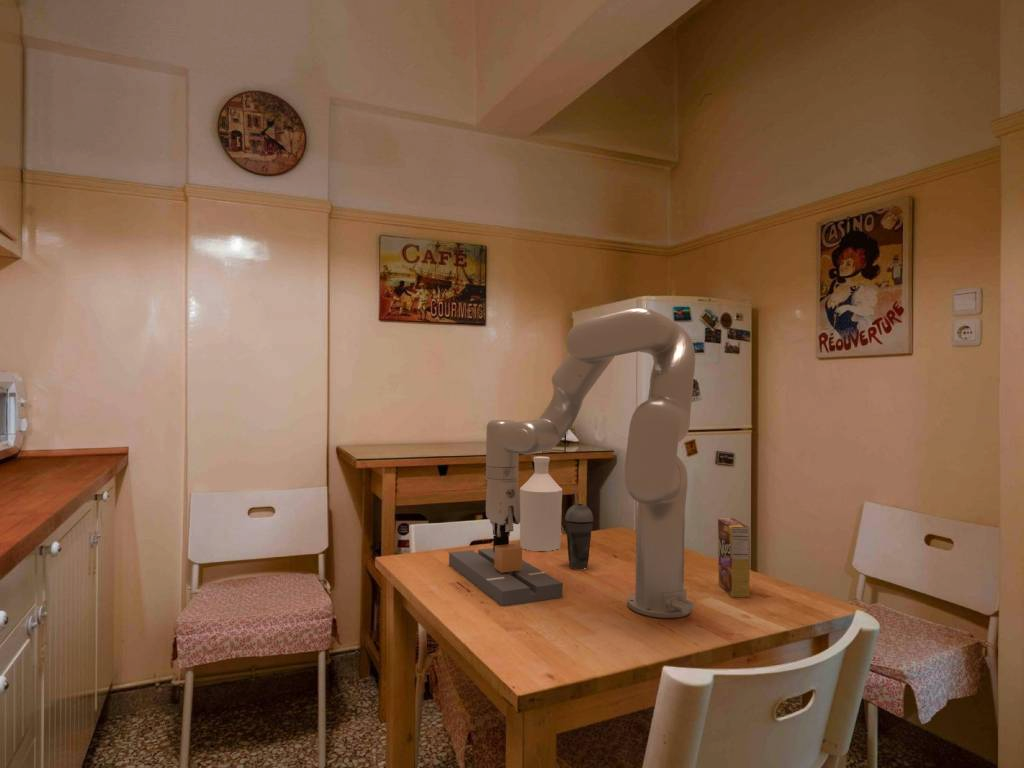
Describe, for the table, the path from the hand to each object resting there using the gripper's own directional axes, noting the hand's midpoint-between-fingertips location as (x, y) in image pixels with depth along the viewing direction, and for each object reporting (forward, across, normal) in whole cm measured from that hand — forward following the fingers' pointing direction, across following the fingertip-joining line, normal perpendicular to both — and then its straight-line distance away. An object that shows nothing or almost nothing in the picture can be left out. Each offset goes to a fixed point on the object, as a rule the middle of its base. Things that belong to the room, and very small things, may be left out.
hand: (500, 552), depth 141 cm
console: (+6, 0, 0) cm, 6 cm away
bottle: (+6, +23, -22) cm, 33 cm away
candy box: (+6, -27, -44) cm, 52 cm away
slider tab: (+4, -4, 0) cm, 6 cm away
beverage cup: (+6, +2, -22) cm, 23 cm away
